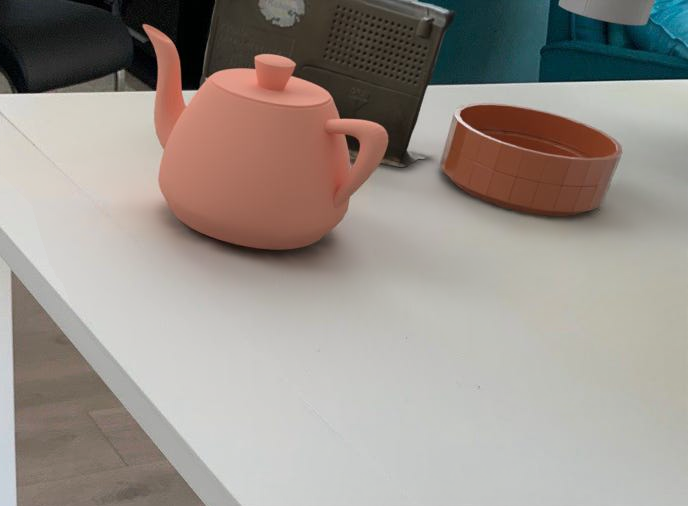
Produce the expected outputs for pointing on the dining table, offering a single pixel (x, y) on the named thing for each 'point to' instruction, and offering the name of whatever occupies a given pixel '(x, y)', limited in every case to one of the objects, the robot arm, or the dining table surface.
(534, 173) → the bowl
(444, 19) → the radio
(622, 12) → the cup
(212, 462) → the dining table surface
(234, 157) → the teapot
